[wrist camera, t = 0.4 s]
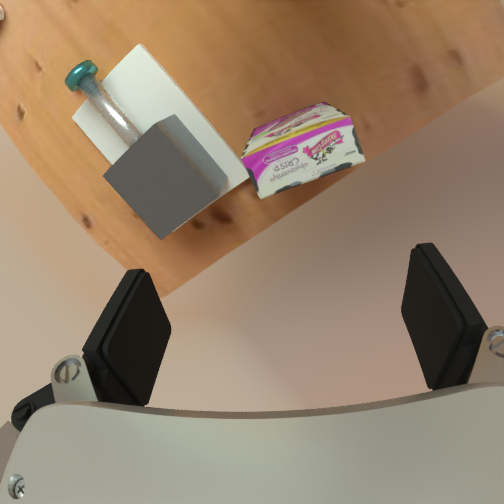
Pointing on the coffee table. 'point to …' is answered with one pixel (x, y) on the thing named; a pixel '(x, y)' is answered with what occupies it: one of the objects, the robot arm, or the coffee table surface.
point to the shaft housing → (166, 176)
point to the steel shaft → (103, 101)
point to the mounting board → (155, 114)
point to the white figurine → (1, 13)
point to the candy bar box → (301, 149)
